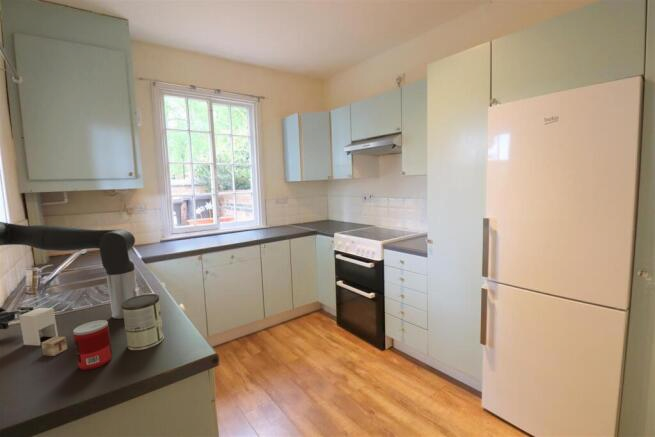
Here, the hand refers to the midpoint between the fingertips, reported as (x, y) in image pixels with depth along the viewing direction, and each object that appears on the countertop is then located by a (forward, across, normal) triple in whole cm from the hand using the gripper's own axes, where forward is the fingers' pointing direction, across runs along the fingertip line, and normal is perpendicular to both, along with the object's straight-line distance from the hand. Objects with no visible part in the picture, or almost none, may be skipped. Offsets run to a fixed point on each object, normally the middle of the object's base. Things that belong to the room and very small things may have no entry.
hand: (22, 319), depth 105 cm
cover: (+6, 0, +7) cm, 9 cm away
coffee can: (+44, +3, +7) cm, 45 cm away
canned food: (+38, -9, +7) cm, 40 cm away
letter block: (+19, -6, +7) cm, 21 cm away
